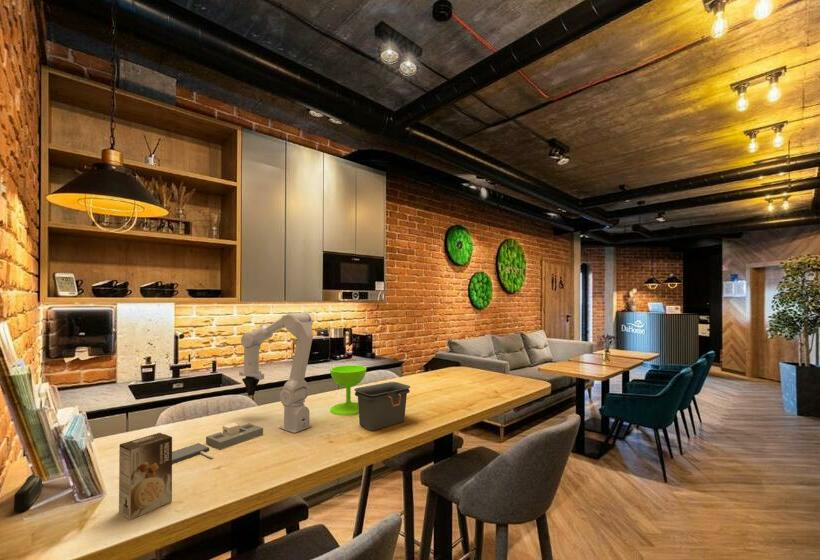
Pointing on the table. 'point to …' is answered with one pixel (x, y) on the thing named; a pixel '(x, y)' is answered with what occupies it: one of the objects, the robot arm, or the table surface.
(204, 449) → the grey flat pronged bracket
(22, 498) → the black rounded bar
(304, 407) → the robot arm
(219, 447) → the grey compartment tray
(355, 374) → the wineglass
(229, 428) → the beige cube
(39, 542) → the table surface
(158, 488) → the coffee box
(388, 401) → the storage bin
